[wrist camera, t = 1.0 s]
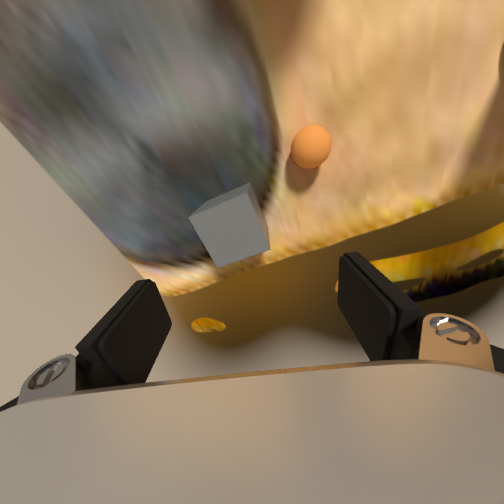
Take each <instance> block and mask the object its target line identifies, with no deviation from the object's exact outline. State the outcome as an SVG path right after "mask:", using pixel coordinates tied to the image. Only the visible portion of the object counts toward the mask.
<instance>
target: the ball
mask: <svg viewBox="0 0 504 504" xmlns="http://www.w3.org/2000/svg"><path fill="white" fill-rule="evenodd" d="M330 150H331V139H330V136H329V134H328V132H327V131H326V130H325V129H324V128H322V127H320V126H317V125H310V126H307V127H304V128H303V129H301V130H300V131H299V132H298V133H297V134H296V136H295V137H294V139H293V141H292V145H291V155H292V158H293V160H294V161H295V163H296V164H297V165H298V166H300V167H302V168H306V169H311V168H315V167H317V166H319V165H321V164H322V163H323V162H324V161H325V160H326V159H327V157H328V155H329V153H330Z"/></svg>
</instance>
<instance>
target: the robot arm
mask: <svg viewBox="0 0 504 504" xmlns="http://www.w3.org/2000/svg"><path fill="white" fill-rule="evenodd" d="M338 306H339V308H340V310H341V312H342V313H343V315H344V317H345V318H346V320H347V322H348V324H349V325H350V327H351V329H352V330H353V332H354V334H355V335H356V337H357V339H358V340H359V342H360V344H361V346H362V347H363V349H364V351H365V352H366V354H367V355H368V357H369V359H370V361H368V362H355V363H343V364H331V365H320V366H310V367H299V368H289V369H278V370H267V371H257V372H247V373H237V374H227V375H217V376H207V377H197V378H187V379H178V380H168V381H159V382H150V383H145V382H146V380H147V377H148V375H149V373H150V371H151V369H152V367H153V365H154V363H155V360H156V358H157V356H158V354H159V352H160V350H161V348H162V346H163V343H164V341H165V339H166V337H167V335H168V333H169V331H170V328H171V325H172V322H171V319H170V317H169V314H168V312H167V310H166V307H165V305H164V302H163V300H162V298H161V295H160V293H159V291H158V288H157V286H156V284H155V282H153V281H151V280H150V279H145V280H139V281H136V282H135V283H134V284H133V285H132V286H131V287H130V289H129V290H128V291H127V292H126V293H125V294H124V295H123V296H122V297H121V298H120V299H119V300H118V301H117V303H116V304H115V305H114V306H113V307H112V308H111V309H110V310H109V311H108V312H107V313H106V315H104V317H103V318H102V319H101V320H100V321H99V322H98V323H97V324H96V325H95V326H94V327H93V328H92V330H91V331H90V332H89V333H88V334H87V335H86V336H85V337H84V338H83V339H82V340H81V341H80V342H79V343H78V344H77V346H76V347H75V348H76V349H77V351H78V352H79V354H78V355H77V356H76V357H75V356H74V355H72V354H65V355H61V356H59V357H56V358H54V359H52V360H50V361H48V362H47V363H45V364H43V365H42V366H40V367H39V368H38V369H36V370H35V371H34V372H33V373H32V374H31V375H30V376H29V377H28V378H27V379H26V381H25V382H24V383H23V385H22V388H21V391H20V395H19V396H18V397H17V398H15V399H13V400H12V401H10V402H8V403H6V404H5V405H3V406H1V407H0V504H504V349H502V348H499V347H496V346H493V345H490V344H489V340H488V338H487V336H486V334H485V333H484V332H483V331H482V330H481V329H480V328H478V327H477V326H476V325H474V324H473V323H471V322H469V321H467V320H465V319H462V318H459V317H457V316H454V315H449V314H444V313H434V314H429V315H427V314H426V313H425V312H423V311H422V310H421V307H419V306H418V305H417V304H416V303H415V302H414V301H413V300H412V299H410V298H409V297H408V296H407V295H406V294H405V293H404V292H402V291H401V290H400V289H399V288H398V287H397V286H396V285H394V284H393V283H392V282H391V281H390V280H389V279H388V278H387V277H385V276H384V275H383V274H382V273H381V272H380V271H379V270H378V269H376V268H375V267H374V266H373V265H372V264H371V263H370V262H369V261H367V260H366V259H365V258H364V257H363V256H362V255H360V254H359V253H358V252H351V253H345V254H344V255H343V257H340V260H339V282H338Z"/></svg>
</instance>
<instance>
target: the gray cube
mask: <svg viewBox="0 0 504 504" xmlns="http://www.w3.org/2000/svg"><path fill="white" fill-rule="evenodd" d="M189 219H190V221H191V223H192V225H193V226H194V228H195V230H196V232H197V233H198V235H199V237H200V239H201V240H202V242H203V244H204V246H205V247H206V249H207V251H208V253H209V254H210V256H211V258H212V260H213V261H214V263H215V265H216V267H217V268H219V267H222V266H225V265H228V264H231V263H234V262H236V261H239V260H242V259H245V258H248V257H250V256H253V255H256V254H259V253H262V252H265V251H267V250H270V241H269V232H268V225H267V223H266V220H265V218H264V216H263V213H262V211H261V208H260V206H259V203H258V201H257V198H256V196H255V193H254V191H253V188H252V186H251V183H250V182H249V183H247V184H245V185H243V186H240V187H238V188H236V189H233V190H231V191H229V192H227V193H224V194H222V195H220V196H217V197H215V198H213V199H211V200H208V201H206V202H205V203H204V204H203V205H202V206H201V207H199V208H198V209H197V210H196V211H195V212H194V213H193V214H192V215H191V216H190V217H189Z"/></svg>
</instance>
